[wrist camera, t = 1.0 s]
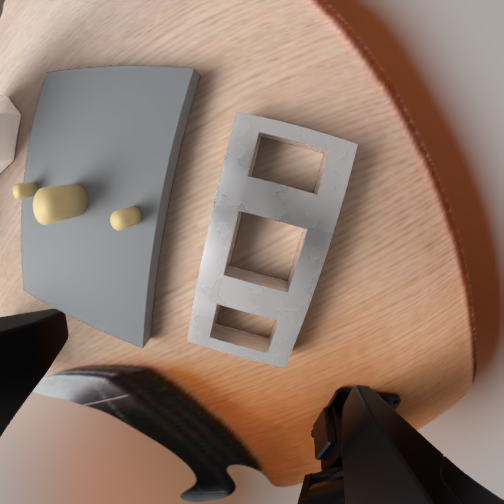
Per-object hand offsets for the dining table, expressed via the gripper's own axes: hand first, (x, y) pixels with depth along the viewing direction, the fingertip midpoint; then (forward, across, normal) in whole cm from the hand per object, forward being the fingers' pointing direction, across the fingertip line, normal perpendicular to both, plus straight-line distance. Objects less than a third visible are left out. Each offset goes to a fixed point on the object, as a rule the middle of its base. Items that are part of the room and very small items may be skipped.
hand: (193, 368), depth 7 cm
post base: (+12, +13, -2) cm, 18 cm away
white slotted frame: (+12, -1, -1) cm, 12 cm away
